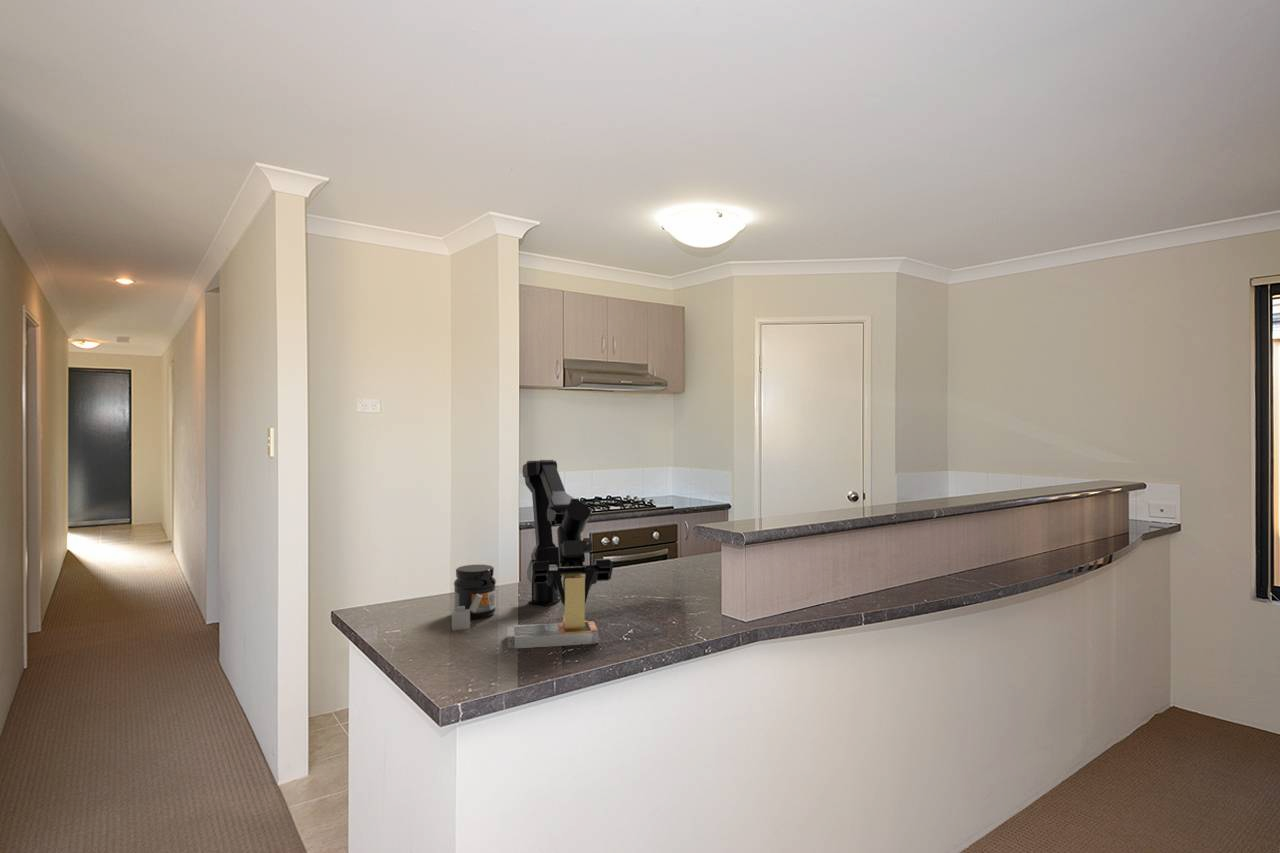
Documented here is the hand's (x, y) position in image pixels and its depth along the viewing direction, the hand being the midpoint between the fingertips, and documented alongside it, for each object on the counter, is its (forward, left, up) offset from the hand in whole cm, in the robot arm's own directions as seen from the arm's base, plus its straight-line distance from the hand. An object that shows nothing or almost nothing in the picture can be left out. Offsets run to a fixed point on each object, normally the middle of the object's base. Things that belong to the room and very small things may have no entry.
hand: (574, 602), depth 162 cm
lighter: (-28, -4, -9) cm, 30 cm away
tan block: (-1, +1, -7) cm, 7 cm away
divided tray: (-5, -2, -9) cm, 10 cm away
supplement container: (-34, +6, -9) cm, 36 cm away
